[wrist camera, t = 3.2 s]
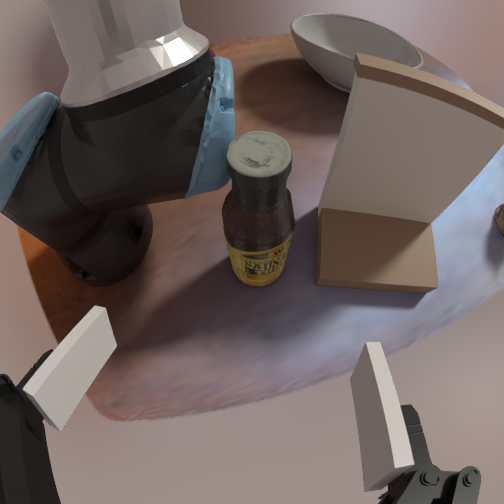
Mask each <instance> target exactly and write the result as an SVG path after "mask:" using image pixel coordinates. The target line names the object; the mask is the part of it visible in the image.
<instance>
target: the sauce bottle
mask: <svg viewBox="0 0 504 504" xmlns="http://www.w3.org/2000/svg"><path fill="white" fill-rule="evenodd" d="M291 168H292V151H291V148H290V146H289V145H288V143H287V142H286V141H285V140H284V139H283V138H282V137H280V136H278V135H276V134H274V133H271V132H266V131H252V132H247V133H244V134H242V135H240V136H238V137H236V138H235V139H234V140H233V141H232V142H231V143H230V144H229V146H228V148H227V151H226V169H227V173H228V174H229V176H230V177H231V179H232V189H231V191H230V192H229V193H228V194H227V196H226V198H225V201H224V204H223V207H222V217H223V224H224V234H225V238H226V242H227V246H228V251H229V255H230V260H231V264H232V268H233V270H234V272H235V274H236V276H237V278H238V279H239V280H240V281H241V282H243V283H244V284H246V285H248V286H251V287H263V286H267V285H269V284H272V283H273V282H274V281H275V280H276V279H277V278H278V277H279V276H280V274H281V273H282V271H283V269H284V265H285V262H286V258H287V254H288V251H289V247H290V244H291V239H292V235H293V232H294V228H295V219H294V212H293V206H292V200H291V194H290V191H289V190H288V189H287V188H286V180H287V178H288V176H289V174H290V172H291Z"/></svg>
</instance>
